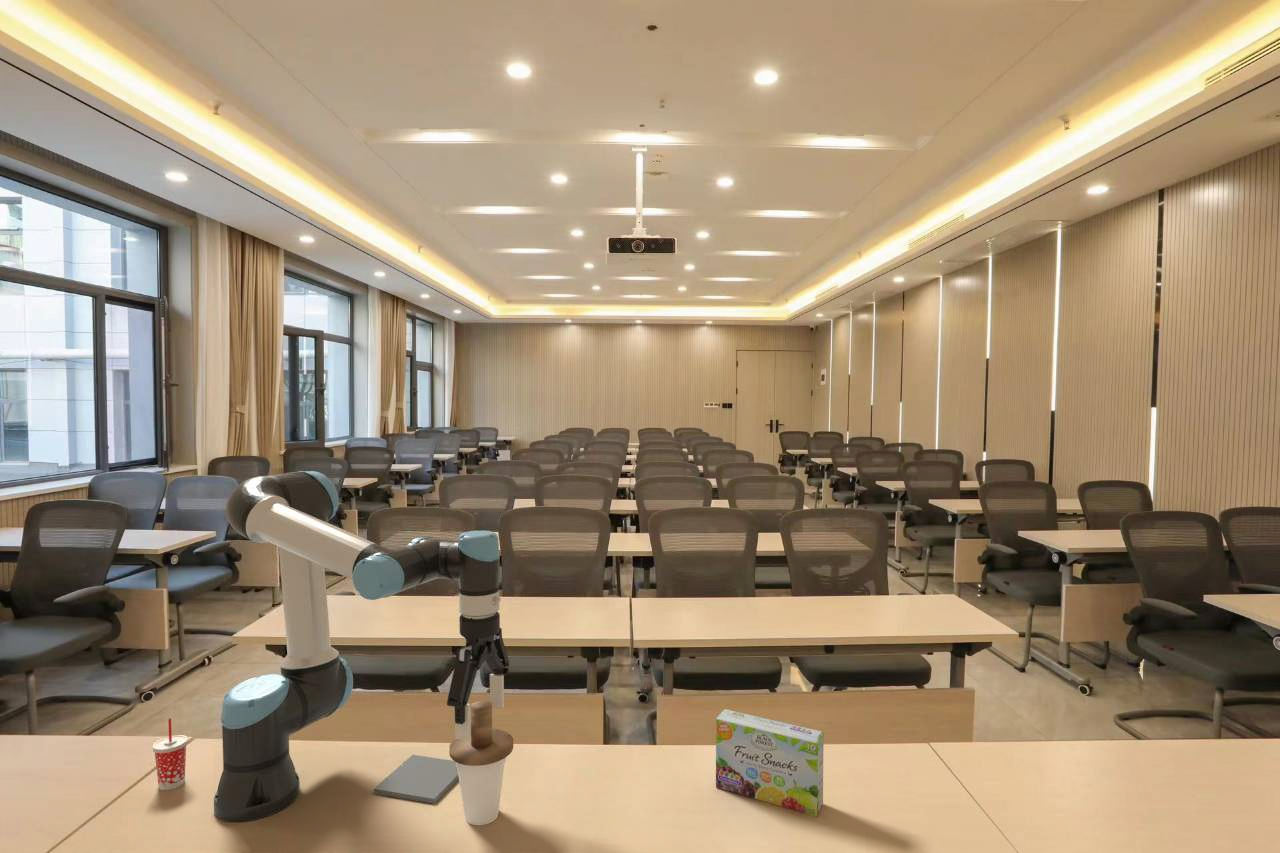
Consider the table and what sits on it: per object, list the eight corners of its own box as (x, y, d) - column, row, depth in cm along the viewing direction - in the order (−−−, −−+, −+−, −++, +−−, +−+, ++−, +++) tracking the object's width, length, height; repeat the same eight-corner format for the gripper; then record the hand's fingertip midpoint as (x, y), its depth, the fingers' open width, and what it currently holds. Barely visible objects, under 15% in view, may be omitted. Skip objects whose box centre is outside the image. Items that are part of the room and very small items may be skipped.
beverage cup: (186, 787, 144) (184, 721, 144) (151, 795, 142) (148, 727, 141) (191, 773, 150) (189, 709, 149) (156, 780, 147) (154, 715, 146)
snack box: (714, 789, 144) (714, 718, 143) (724, 776, 148) (724, 707, 148) (817, 818, 134) (818, 741, 133) (824, 803, 139) (825, 729, 138)
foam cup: (512, 802, 139) (511, 739, 138) (498, 831, 130) (497, 763, 129) (466, 800, 140) (465, 736, 139) (449, 828, 130) (448, 760, 130)
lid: (437, 761, 130) (436, 715, 130) (468, 731, 142) (468, 689, 141) (496, 769, 127) (495, 722, 127) (523, 738, 139) (523, 695, 138)
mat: (373, 793, 142) (373, 788, 142) (412, 759, 156) (412, 754, 156) (434, 803, 138) (434, 798, 138) (469, 767, 152) (469, 763, 152)
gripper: (464, 636, 120) (465, 756, 121) (525, 596, 144) (525, 697, 145) (425, 632, 122) (427, 751, 123) (492, 593, 146) (493, 693, 147)
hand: (480, 722), depth 134 cm, fingers open, 13 cm apart
